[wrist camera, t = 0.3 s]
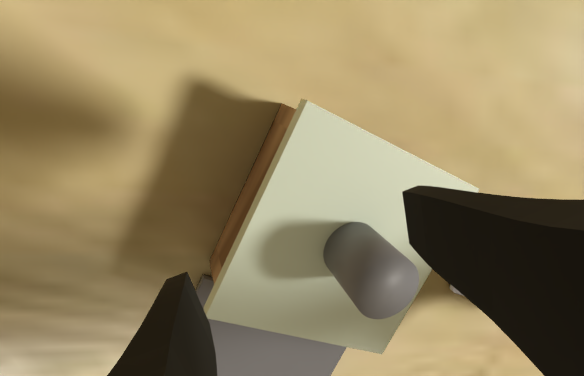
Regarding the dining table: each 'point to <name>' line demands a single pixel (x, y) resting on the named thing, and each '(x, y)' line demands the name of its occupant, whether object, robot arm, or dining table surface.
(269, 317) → the lid
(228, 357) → the mat
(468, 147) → the dining table surface
